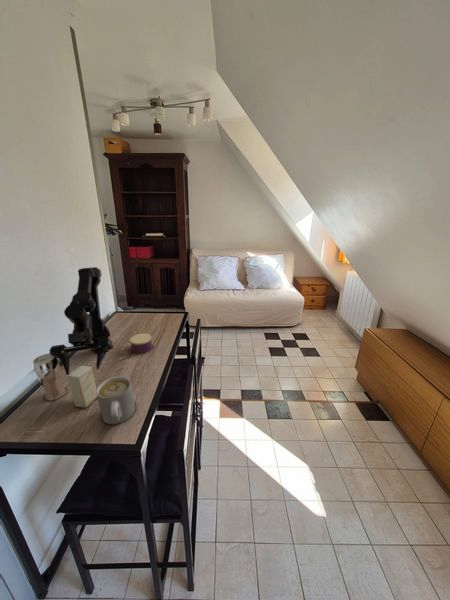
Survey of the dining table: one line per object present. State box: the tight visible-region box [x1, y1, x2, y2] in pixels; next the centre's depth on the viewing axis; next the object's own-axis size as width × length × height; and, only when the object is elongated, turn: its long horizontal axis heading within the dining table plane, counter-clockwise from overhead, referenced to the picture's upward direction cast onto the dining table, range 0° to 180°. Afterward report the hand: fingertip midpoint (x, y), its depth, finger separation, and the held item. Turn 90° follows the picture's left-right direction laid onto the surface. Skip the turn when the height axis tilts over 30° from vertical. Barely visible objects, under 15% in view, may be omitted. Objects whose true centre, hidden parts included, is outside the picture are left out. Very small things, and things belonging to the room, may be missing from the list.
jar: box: [129, 332, 153, 354], centre depth 116 cm, size 9×9×6 cm
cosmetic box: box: [66, 365, 97, 409], centre depth 84 cm, size 6×4×12 cm
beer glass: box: [32, 352, 67, 401], centre depth 86 cm, size 7×7×15 cm
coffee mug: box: [96, 376, 136, 425], centre depth 77 cm, size 13×10×10 cm
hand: (82, 371), depth 85 cm, fingers open, 9 cm apart
